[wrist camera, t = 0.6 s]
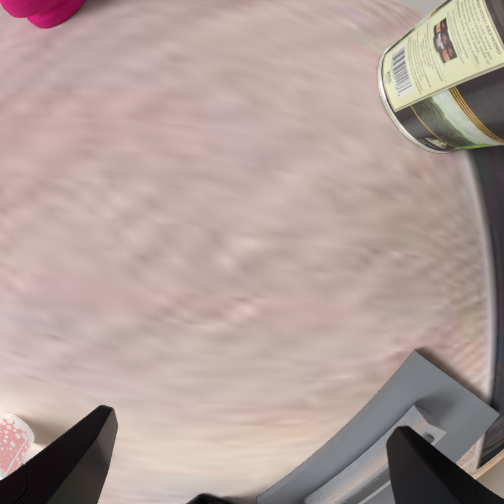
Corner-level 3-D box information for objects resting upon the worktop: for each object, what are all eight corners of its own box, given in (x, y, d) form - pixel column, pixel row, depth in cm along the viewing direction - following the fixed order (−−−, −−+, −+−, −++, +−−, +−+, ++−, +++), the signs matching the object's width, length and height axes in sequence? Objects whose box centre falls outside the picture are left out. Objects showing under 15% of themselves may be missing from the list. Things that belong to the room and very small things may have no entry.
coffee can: (487, 132, 20) (607, 119, 6) (414, 172, 21) (567, 169, 7) (436, 32, 18) (535, -30, 4) (351, 53, 19) (453, -53, 5)
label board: (377, 518, 30) (379, 523, 29) (256, 497, 27) (256, 504, 25) (496, 410, 27) (500, 415, 26) (414, 349, 23) (420, 355, 22)
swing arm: (313, 514, 26) (317, 534, 23) (288, 509, 25) (291, 531, 22) (433, 415, 23) (449, 434, 20) (413, 404, 23) (429, 426, 20)
